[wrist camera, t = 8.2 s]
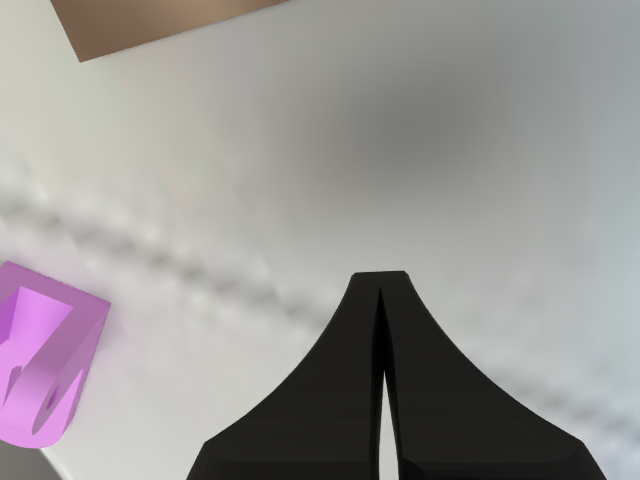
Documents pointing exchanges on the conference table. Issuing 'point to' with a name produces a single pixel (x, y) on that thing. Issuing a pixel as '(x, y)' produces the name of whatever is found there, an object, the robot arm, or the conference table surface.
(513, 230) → the conference table surface
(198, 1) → the stand
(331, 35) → the conference table surface
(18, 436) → the bracket
